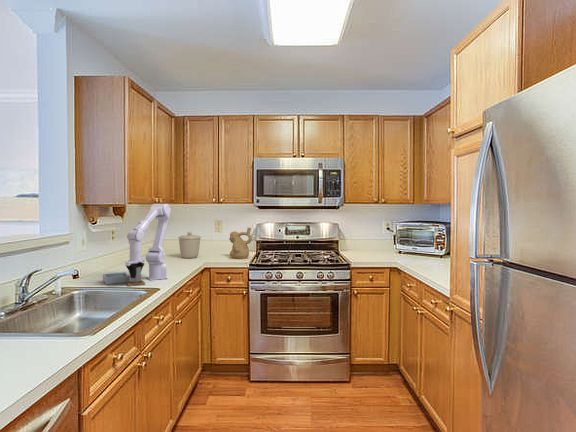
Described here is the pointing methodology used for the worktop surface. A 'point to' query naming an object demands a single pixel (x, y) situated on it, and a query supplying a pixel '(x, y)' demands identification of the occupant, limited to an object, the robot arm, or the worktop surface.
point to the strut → (137, 275)
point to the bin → (116, 278)
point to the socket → (135, 283)
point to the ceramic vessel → (240, 244)
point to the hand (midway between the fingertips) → (135, 277)
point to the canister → (189, 245)
